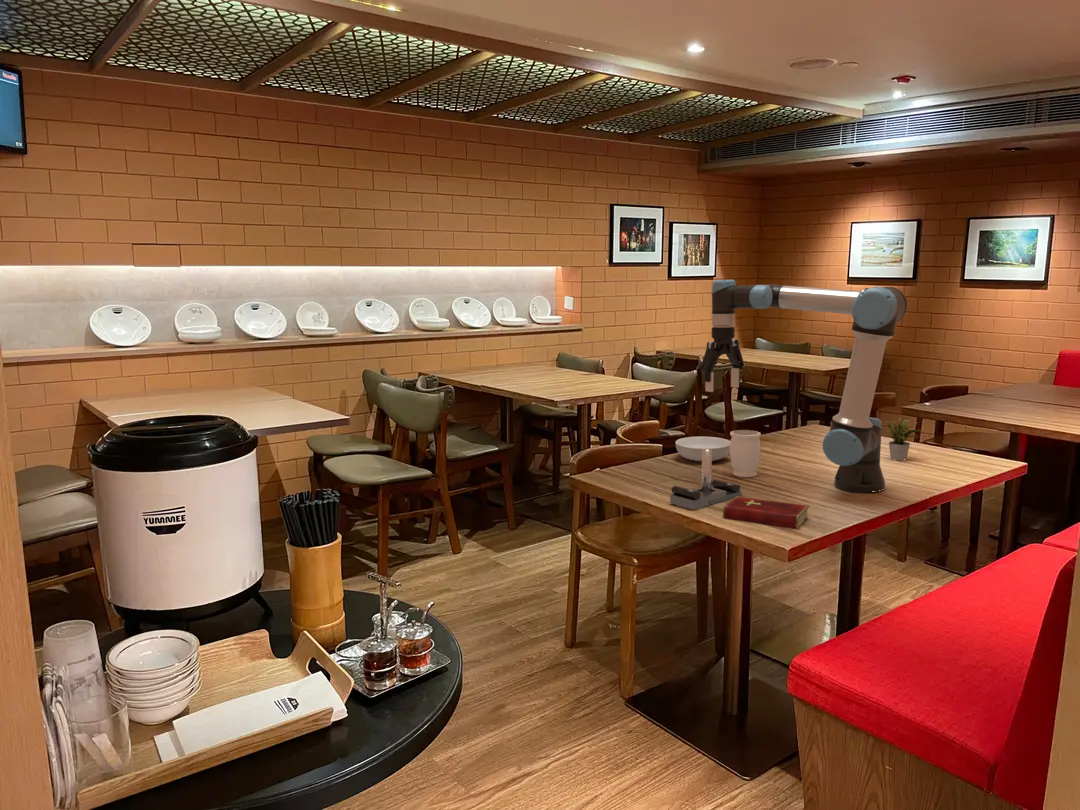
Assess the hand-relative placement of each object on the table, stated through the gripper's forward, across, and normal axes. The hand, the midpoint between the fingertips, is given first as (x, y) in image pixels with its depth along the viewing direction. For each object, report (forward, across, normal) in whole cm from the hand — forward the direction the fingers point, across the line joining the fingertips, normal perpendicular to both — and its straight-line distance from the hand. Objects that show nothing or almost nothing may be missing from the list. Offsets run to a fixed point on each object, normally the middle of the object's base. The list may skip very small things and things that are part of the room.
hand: (722, 389), depth 258 cm
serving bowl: (+31, -17, -22) cm, 42 cm away
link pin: (+31, +25, +14) cm, 42 cm away
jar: (+31, -9, +3) cm, 32 cm away
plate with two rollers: (+31, +25, +14) cm, 42 cm away
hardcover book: (+31, +27, +37) cm, 55 cm away
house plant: (+31, -66, +28) cm, 78 cm away
